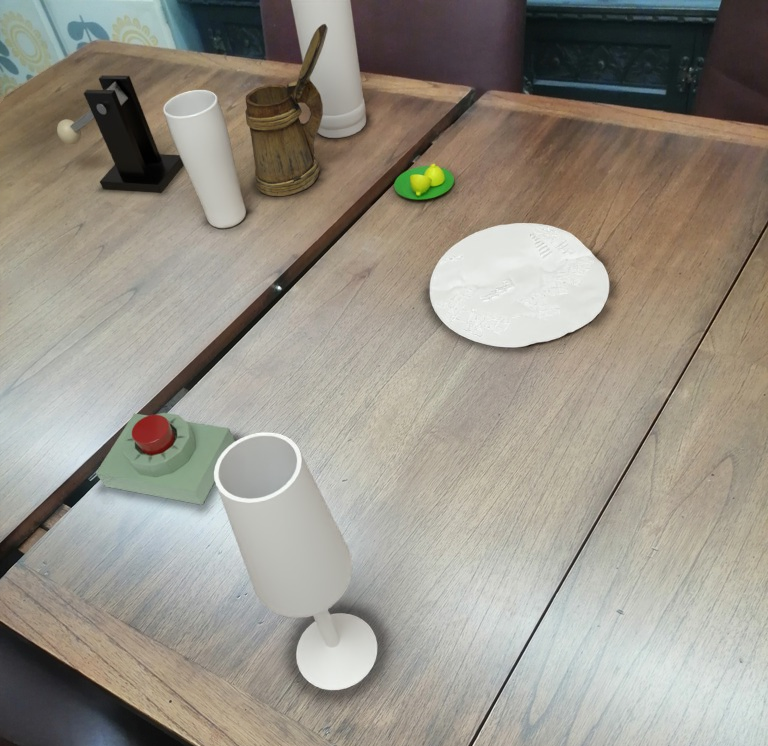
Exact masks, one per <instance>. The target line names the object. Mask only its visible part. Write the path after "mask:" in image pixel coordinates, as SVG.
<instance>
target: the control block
mask: <svg viewBox="0 0 768 746" xmlns="http://www.w3.org/2000/svg"><path fill="white" fill-rule="evenodd" d="M155 415H161V416H163V417H165V418H166V419H167V420H168V422H169V424H170V425H171V427H172V429H173V431H174V433H175V440H174V443H173V444H172V446H171V447H170V448H169V449H167V450H166V451H164V452H163V453H160V454H156V455H148V454H145V453H143V452H142V451H141V450H140V449H139V447H138V446H137V444H136V442H135V441H134V439H133V438H132V429H133V427H134V425H135V424H136V423H137V422H138V421H139V420H141V419H142V418H144V417H146V416H149V415H148V414H147V415H146V414H140V413H133V414H132V416H131V417H130V419H129V421H128V422H127V424H125V427H124V429H123V430H122V432H121V433H120V434H119V436H118V437H117V439H116V440H115V442H114V444H113V445H112V447H111V449H110V450H109V452H108V454H106V456H105V458H104V459H103V461H102V463H100V466H99V467H98V469H97V470H96V472H95V475H96V477H98V480H100V481H101V482H102V484H103V486H104V487H106V488H112V489H117V490H120V491H121V490H123V491H128V492H132V493H138V494H143V495H147V496H154V497H158V498H164V499H169V500H173V501H174V500H175V501H179V502H186V503H190V504H194V505H195V504H196V505H201V506H203V505H204V503H205V501H206V499H207V497H208V496H209V494H210V493H211V489H212V488H213V486H214V484H215V480H214V470H215V465H216V463H217V460H218V458H219V457H220V455H221V454H222V453H223V452H224V451H225V449H226V448H227V447H228V446H230V445H231V444H232V443H234V442H235V441H236V439H235V438H234V435H233V434H232V431H231V429H230V428H229V427H224V426H219V425H218V426H217V425H211V424H205V423H198V422H192V421H186V420H185V419H184V418H182V417H181V416H180V415H179V414H173V413H168V412H160V413H157V414H155Z"/></svg>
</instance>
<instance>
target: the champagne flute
mask: <svg viewBox="0 0 768 746" xmlns="http://www.w3.org/2000/svg"><path fill="white" fill-rule="evenodd" d="M214 480H215V482H214V484H215V486H216V488H217V491H218V494H219V497H220V500H221V502H222V505H223V508H224V510H225V514H226V516H227V519H228V522H229V524H230V527H231V530H232V533H233V536H234V538H235V541H236V544H237V546H238V549H239V551H240V555H241V558H242V560H243V564H244V566H245V568H246V569H245V570H246V571H247V572H246V573H247V575H248V577H249V580H250V583H251V585H252V588H253V591H254V594H255V595H256V597H257V598H258V601H260V603H262V605H263V606H264V607H266V608H267V609H268V610H269V611H271V612H273V613H275V614H277V615H280V616H283V617H286V618H294V619H295V618H296V619H298V618H299V619H300V618H308V617H313V619H314V621H313V622H312V623H311V624H310V625H309V626H308V627H306V629H305V630H304V631H303V633H302V634H301V636H300V638H299V640H298V642H297V646H296V654H295V657H296V664H297V667H298V669H299V672H300V673H301V675H302V676H303V678H304V679H305V680H306V681H307V682H308V683H310V684H311V685H312V686H314V687H317V688H319V689H322V690H326V691H339V690H344V689H348V688H351V687H352V686H355V685H357V684H358V683H360V682H361V681H363V680H364V679H365V677H366V676H368V675H369V673H370V671H371V670H372V668H373V667H374V664H375V662H376V660H377V655H378V642H377V637H376V635H375V632H374V630H373V629H372V627H371V626H370V625H369V624H368V623H367V622H366V620H363V619H362V618H361V617H359V616H357V615H353V614H351V613H345V612H344V613H343V612H338V613H337V612H336V613H330V610H329V609H331V608H332V607H333V606H334V605H336V603H338V601H340V599H341V598H342V597H343V595H344V594H345V593H346V592H347V590H348V587H349V585H350V584H351V580H352V576H353V565H354V564H353V558H352V553H351V551H350V549H349V547H348V544H347V542H346V540H345V538H344V536H343V534H342V532H341V530H340V529H339V528H340V527H339V526H338V524H337V522H336V521H335V518H334V516H333V515H332V512H331V510H330V508H329V506H328V504H327V502H326V500H325V498H324V497H323V494H322V493H321V490H320V488H319V486H318V483H317V482H316V480H315V478H314V475H313V474H312V472H311V470H310V468H309V466H308V464H307V462H306V460H305V459H304V456H303V454H302V452H301V450H300V448H299V446H298V445H297V444H296V443H295V441H293V440H292V439H290V438H289V437H288V436H286V435H283V434H280V433H277V432H270V431H269V432H267V431H265V432H255V433H251V434H248V435H245V436H243V437H241V438H239V439H237V440H235V442H234V443H232V444H231V445H230V446H228V447H227V448H226V449H225V451H224V452H223V453H222V454H221V455H220V457H219V458H218V460H217V463H216V465H215V470H214Z"/></svg>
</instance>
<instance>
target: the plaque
mask: <svg viewBox="0 0 768 746" xmlns="http://www.w3.org/2000/svg"><path fill="white" fill-rule="evenodd" d="M609 293H610V279H609V274H608V271H607V270H606V267H605V266H604V264H603V263H602V262H601V260H599V259H598V258H597V257H596V256H595V255H594V254H593V252H592V250H590V249H589V248H588V247H587V246H585V244H583V242H582V241H581V240H580V239H579V238H577V237H576V236H575V235H574V234H572V233H571V232H569V231H567V230H564V229H562V228H559V227H557V226H554V225H548V224H542V223H535V222H534V223H533V222H524V223H523V222H516V223H514V222H513V223H508V224H498V225H494V226H492V227H488V228H485V229H481V230H478V231H475V232H473V233H471V234H470V235H467V236H466V237H464V238H462V239H461V240H459V241H458V242H457V243H455V244H454V245H452V246H451V247H450V248H449V249H448V250H446V252H445V253H444V254H443V255H442V256H441V258H440V259H439V260H438V262H437V264H436V265H435V267H434V269H433V272H432V274H431V277H430V282H429V298H430V303H431V306H432V308H433V310H434V312H435V314H436V315H437V316H438V318H439V320H441V322H442V323H443V324H444V325H445V326H446V327H447V328H449V330H451V331H453V332H454V333H456V334H457V335H459V336H461V337H464V338H466V339H468V340H470V341H473V342H475V343H479V344H482V345H487V346H492V347H497V348H522V347H527V346H529V345H533V344H537V343H544V342H549V341H553V340H557V339H559V338H561V337H564V336H565V335H567V334H569V333H573V332H575V331H577V330H579V329H580V328H582V327H584V326H586V325H588V324H589V323H590V322H592V321H593V320H594V319H595V318H596V317H597V316H598V315H599V314H600V313H601V311H602V310H603V308H604V306H605V304H606V302H607V300H608V297H609Z"/></svg>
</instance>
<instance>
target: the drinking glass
mask: <svg viewBox="0 0 768 746" xmlns="http://www.w3.org/2000/svg"><path fill="white" fill-rule="evenodd" d="M162 111H163V115H164V119H165V122H166V124H167V129H168V131H169V134H170V136H171V139H172V142H173V144H174V147H175V149H176V151H177V154H178V155H179V156H180V158H181V160H182V162H183V167H184V169H185V170H186V174H187V175H188V178H189V180H190V182H191V184H192V187H193V189H194V191H195V193H196V195H197V197H198V200H199V202H200V204H201V206H202V209H203V211H204V215H205V217H206V220H207V222H208V223H209V224H210V225H211V227H214V228H218V229H228V228H231V227H235V226H237V225H239V224H240V223H241V222H243V220H244V219H245V217H246V214H247V209H246V205H245V202H244V199H243V195H242V190H241V186H240V180H239V177H238V171H237V166H236V163H235V159H234V152H233V147H232V144H231V138H230V134H229V130H228V126H227V122H226V119H225V116H224V112H223V109H222V106H221V103H220V101H219V98H218V95H217V94H216V93H215V92H213V91H210V90H206V89H194V90H189V91H185V92H181V93H179V94H176V95H175V96H172V97H171V98H170V99H169V100H168V101H166V102H165V104H164V105H163V108H162Z"/></svg>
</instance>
